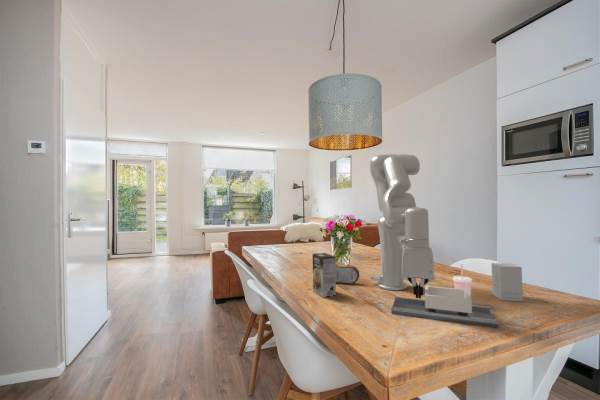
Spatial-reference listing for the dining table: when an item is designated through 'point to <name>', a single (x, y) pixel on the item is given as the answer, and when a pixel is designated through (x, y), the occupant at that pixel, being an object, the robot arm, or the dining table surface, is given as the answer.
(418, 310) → the track
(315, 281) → the coffee box
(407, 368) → the dining table surface
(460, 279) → the beverage cup
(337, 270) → the tin
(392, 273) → the robot arm
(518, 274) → the supplement box
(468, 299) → the cart
